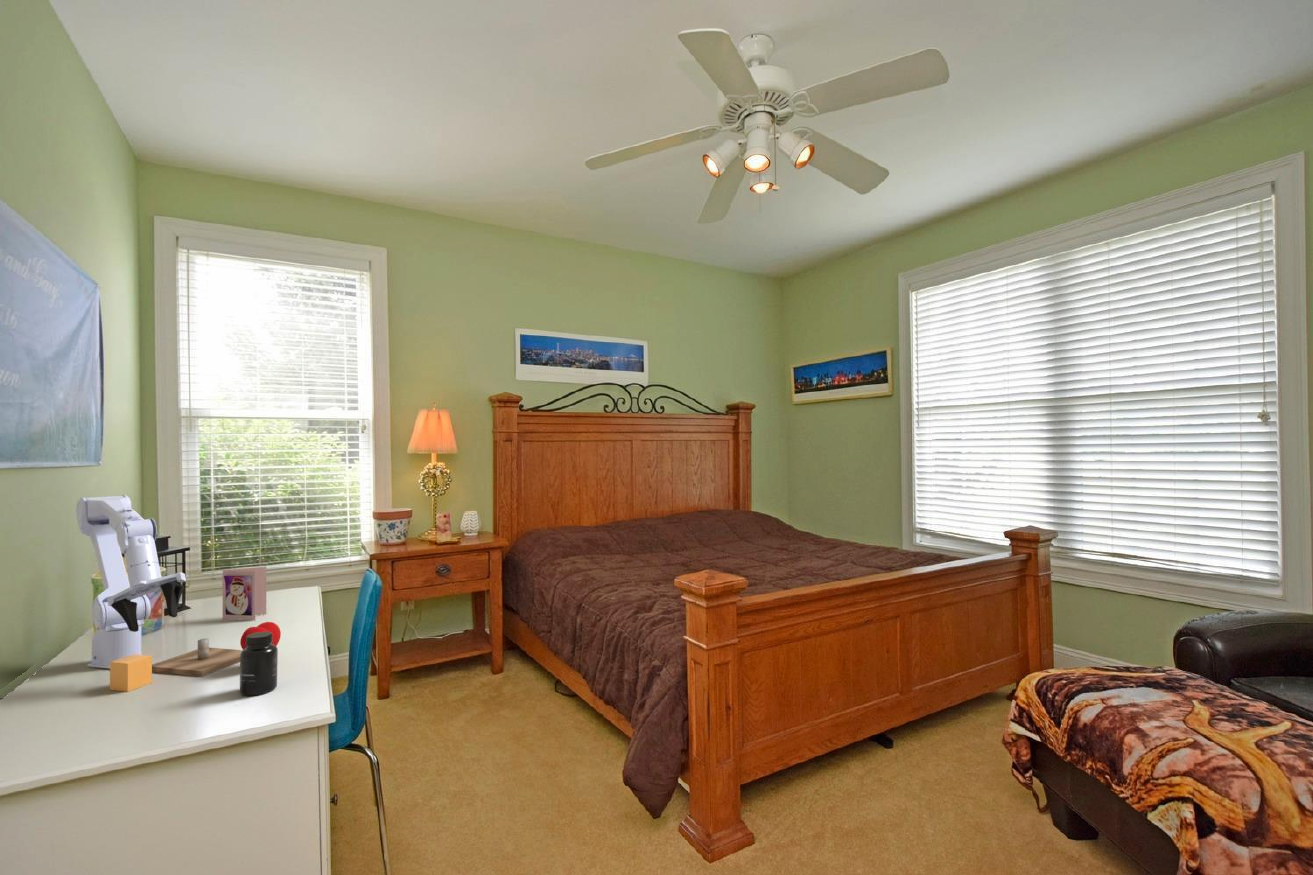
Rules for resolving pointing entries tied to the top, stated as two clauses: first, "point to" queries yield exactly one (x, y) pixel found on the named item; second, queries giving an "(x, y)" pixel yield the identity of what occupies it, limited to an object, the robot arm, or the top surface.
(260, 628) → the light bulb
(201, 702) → the top surface
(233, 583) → the greeting card
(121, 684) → the orange wooden cube
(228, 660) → the post board
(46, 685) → the top surface
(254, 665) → the supplement bottle
